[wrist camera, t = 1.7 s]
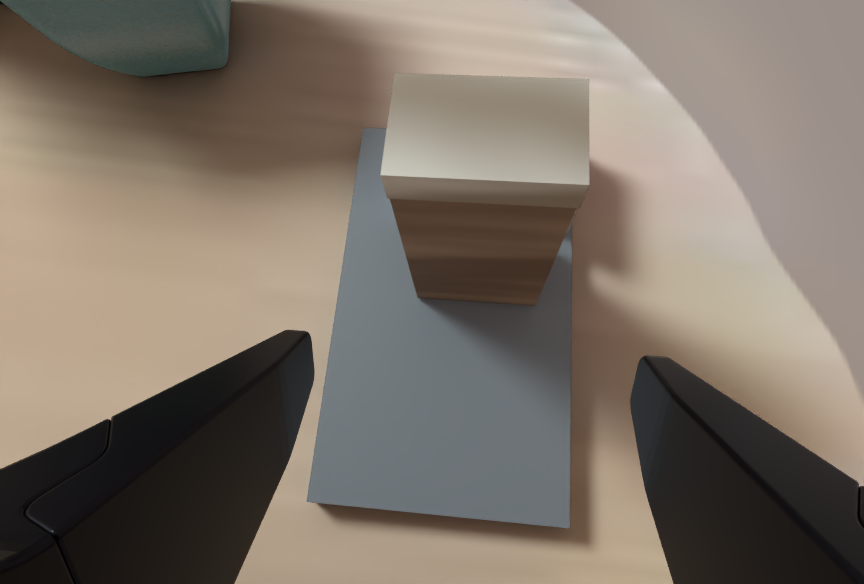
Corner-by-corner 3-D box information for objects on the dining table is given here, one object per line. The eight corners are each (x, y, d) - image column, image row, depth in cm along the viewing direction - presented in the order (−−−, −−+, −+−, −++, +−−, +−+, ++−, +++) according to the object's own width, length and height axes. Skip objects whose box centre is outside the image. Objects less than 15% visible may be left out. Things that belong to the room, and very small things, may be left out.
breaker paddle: (536, 306, 22) (589, 185, 13) (416, 299, 23) (380, 175, 13) (538, 239, 23) (589, 78, 14) (423, 233, 24) (394, 73, 14)
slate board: (564, 525, 21) (580, 534, 18) (313, 500, 21) (290, 505, 19) (568, 148, 26) (581, 108, 23) (366, 139, 27) (355, 100, 24)
